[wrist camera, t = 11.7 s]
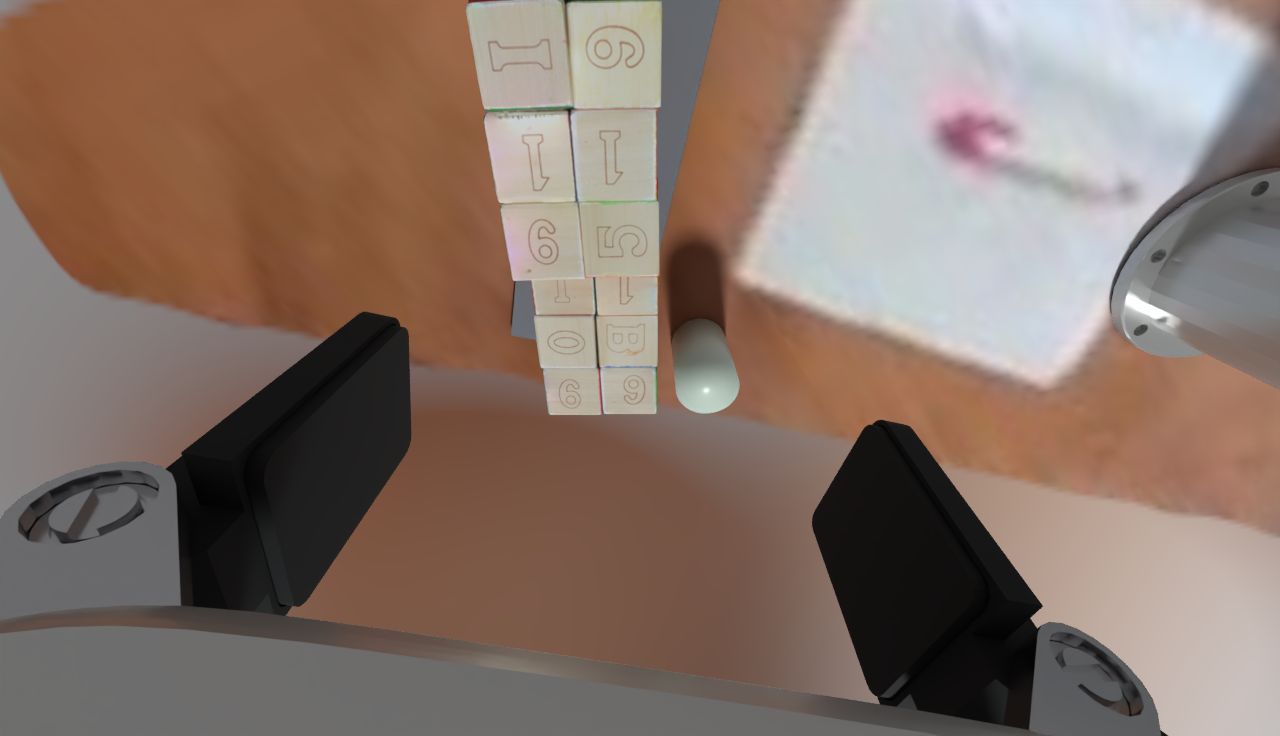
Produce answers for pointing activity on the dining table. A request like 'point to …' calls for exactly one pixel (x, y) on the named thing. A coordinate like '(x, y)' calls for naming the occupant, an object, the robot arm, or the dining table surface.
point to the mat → (658, 116)
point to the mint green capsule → (703, 367)
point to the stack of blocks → (579, 186)
